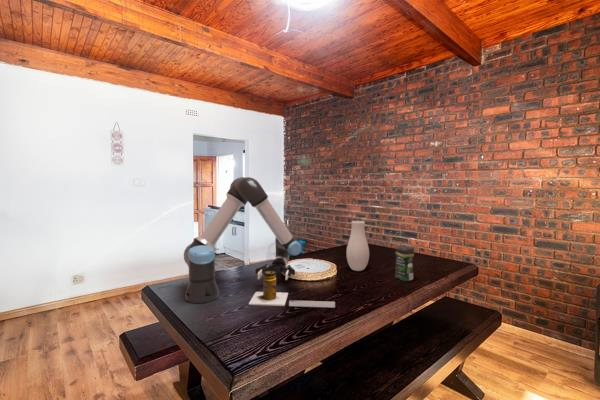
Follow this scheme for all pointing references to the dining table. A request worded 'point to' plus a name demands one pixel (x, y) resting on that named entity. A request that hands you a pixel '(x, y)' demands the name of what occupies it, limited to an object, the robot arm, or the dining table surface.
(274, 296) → the condiment
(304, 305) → the bar
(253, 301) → the mat
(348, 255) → the vase
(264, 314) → the dining table surface
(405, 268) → the coffee jar
